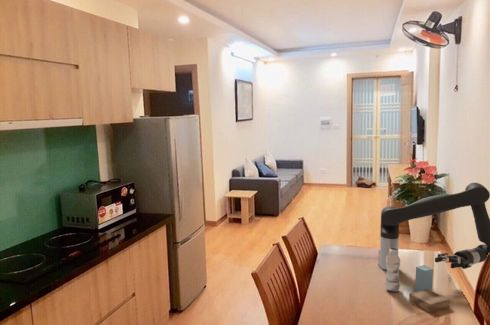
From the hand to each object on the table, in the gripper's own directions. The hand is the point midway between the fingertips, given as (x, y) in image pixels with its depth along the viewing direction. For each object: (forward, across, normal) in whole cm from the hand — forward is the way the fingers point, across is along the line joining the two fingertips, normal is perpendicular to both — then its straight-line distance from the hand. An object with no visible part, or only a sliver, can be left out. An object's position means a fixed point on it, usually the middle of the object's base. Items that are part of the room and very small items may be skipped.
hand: (443, 263), depth 177 cm
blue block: (+12, 0, +12) cm, 17 cm away
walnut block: (+19, +9, +13) cm, 24 cm away
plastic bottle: (+23, -8, +12) cm, 27 cm away
